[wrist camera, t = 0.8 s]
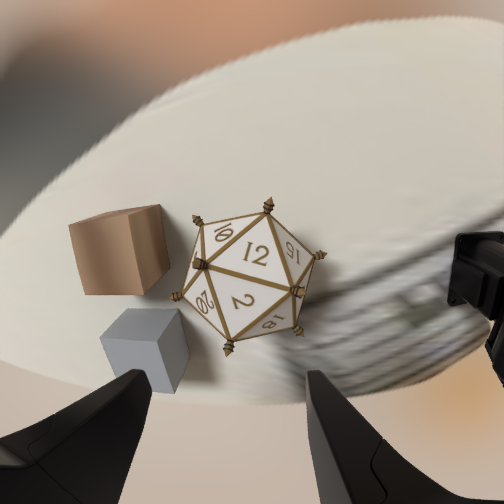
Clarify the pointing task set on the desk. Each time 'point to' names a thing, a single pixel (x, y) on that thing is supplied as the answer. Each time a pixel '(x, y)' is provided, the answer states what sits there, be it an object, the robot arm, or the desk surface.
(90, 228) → the walnut block
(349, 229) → the desk surface
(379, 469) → the robot arm
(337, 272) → the desk surface
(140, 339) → the slate block
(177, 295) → the game die
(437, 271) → the desk surface
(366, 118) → the desk surface
